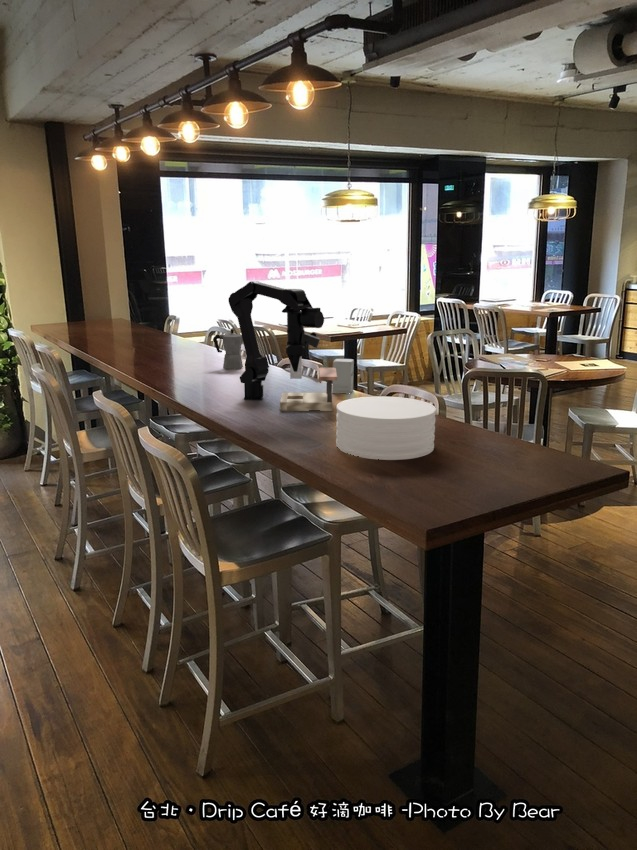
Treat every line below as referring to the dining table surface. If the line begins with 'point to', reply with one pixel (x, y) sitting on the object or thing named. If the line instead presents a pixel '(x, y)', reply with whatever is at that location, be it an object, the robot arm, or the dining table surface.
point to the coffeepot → (231, 349)
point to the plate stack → (385, 427)
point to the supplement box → (343, 376)
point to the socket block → (311, 396)
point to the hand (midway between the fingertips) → (295, 370)
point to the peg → (299, 372)
